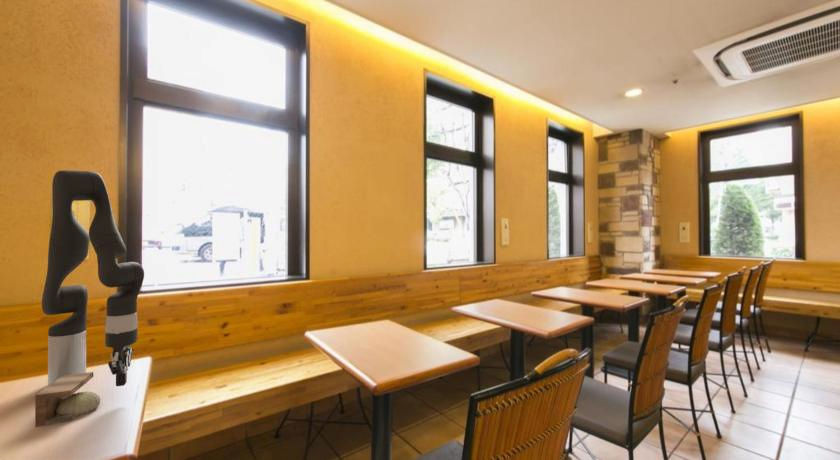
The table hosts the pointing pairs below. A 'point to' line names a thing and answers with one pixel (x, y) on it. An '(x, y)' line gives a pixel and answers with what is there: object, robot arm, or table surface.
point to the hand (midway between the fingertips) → (121, 384)
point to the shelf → (57, 398)
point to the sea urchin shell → (78, 404)
